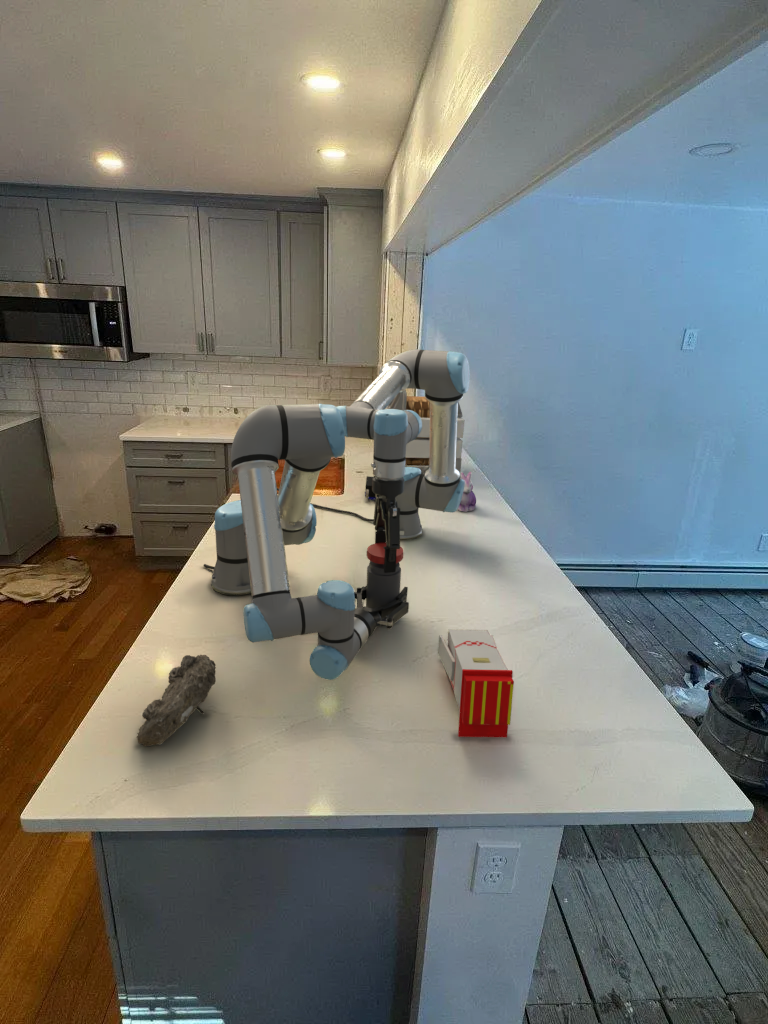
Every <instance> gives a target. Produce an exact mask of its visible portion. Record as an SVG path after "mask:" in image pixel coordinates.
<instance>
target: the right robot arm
mask: <svg viewBox="0 0 768 1024" xmlns="http://www.w3.org/2000/svg"><path fill="white" fill-rule="evenodd" d="M470 369H471V368H470V363H469V359H468V357H467V356H466V355H465V354H464V353H463V352H459V351H458V352H457V351H452V350H434V349H433V350H431V349H421V348H420V349H419V348H418V349H417V348H416V349H409V350H406V351H403V352H400V353H398V354H397V355H395V356H393V357H391V358H390V359H389V360H387V361H386V362H385V363H383V365H381V367H380V370H379V372H378V375H377V376H376V378H374V380H373V381H372V382H371V383H370V384H368V386H367V387H366V388H365V389H364V390H363V392H361V394H360V395H359V396H357V398H356V399H355V400H354V401H353V403H351V404H350V405H349V406H347V405H337V406H336V407H337V408H338V410H339V411H340V414H341V417H342V421H343V426H344V433H345V438H354V439H363V440H364V439H365V440H372V441H373V456H372V457H373V459H372V461H373V462H372V463H370V467H371V468H372V475H373V476H372V477H373V478H372V491H373V492H374V493H375V494H376V502H375V501H374V502H375V503H374V513H373V518H367V517H364V516H362V515H360V514H359V513H356V512H353V511H349V510H343V509H337V508H332V507H328V506H323V505H319V504H316V503H311V502H310V504H312V505H313V507H314V508H317V509H322V510H326V511H331V512H336V513H341V514H346V515H347V514H348V515H351V516H355V517H357V518H359V519H361V520H363V521H365V522H370V523H372V524H373V526H374V530H375V533H374V534H375V535H374V544H375V543H386V546H385V547H384V549H385V558H384V573H390V572H396V553H397V549H400V547H401V541H410V540H415V539H418V538H420V537H421V536H422V535H423V525H422V524H421V518H420V515H419V509H424V510H432V511H437V512H442V513H456V512H457V511H458V507H459V505H460V502H461V499H462V495H463V491H464V486H465V481H464V480H463V479H461V474H460V473H459V471H458V470H457V469H455V466H456V440H457V413H458V402H459V403H460V401H461V400H462V399H463V398H464V394H466V393H468V391H469V389H470V380H471V379H470V378H471V371H470ZM407 389H409V390H410V389H411V390H412V389H414V390H422V391H424V397H425V398H426V399H427V400H428V401H429V402H430V454H429V465H428V467H429V468H428V469H427V470H425V472H424V473H422V470H421V468H419V467H417V466H406V465H405V462H406V459H405V455H406V444H407V443H409V442H411V441H413V440H414V439H415V438H416V437H417V436H418V435H419V433H420V432H421V429H422V421H421V418H420V416H419V415H418V414H417V413H416V412H414V411H412V410H398V409H387V406H388V405H389V404H390V403H391V402H392V400H393V399H394V398H395V397H396V395H397V394H398V393H400V392H403V391H404V390H406V391H407ZM277 492H279V488H278V487H277Z"/></svg>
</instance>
